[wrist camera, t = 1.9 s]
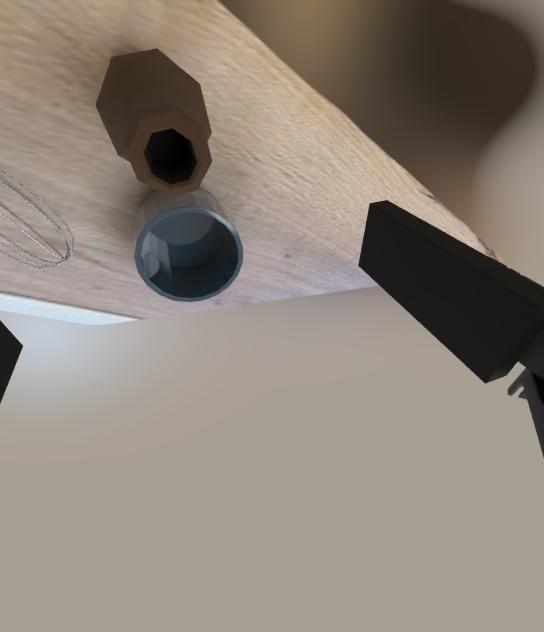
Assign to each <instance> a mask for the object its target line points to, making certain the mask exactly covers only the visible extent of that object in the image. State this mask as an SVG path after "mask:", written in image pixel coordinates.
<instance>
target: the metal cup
mask: <svg viewBox="0 0 544 632" xmlns="http://www.w3.org/2000/svg"><path fill="white" fill-rule="evenodd" d="M134 258H135V262H136V266H137V271H138V273H139V274H140V276H141V277H142V279H143V280H144V282H145V283H146V285H147V286H149V287H150V288H151V289H153V290H154V291H155V292H156V293H158V294H159V295H161V296H164V297H166V298H169V299H171V300H176V301H184V302H194V301H201V300H206V299H208V298H211V297H213V296H216V295H218V294H219V293H221V292H222V291H223V290H225V289H226V288H227V287H229V286H230V285H231V283H232V282H233V281H234V279H235V278H236V277H237V276H238V273H239V271H240V268H241V265H242V263H243V246H242V243H241V240H240V237H239V234H238V232H237V230H236V229H235V227H234V225H233V224H232V222H231V220H230V218H229V217H228V215H227V213H226V212H225V210H224V209H223V207H222V206H221V204H220V203H219V202H218V200H217V199H216V198H215V197H214V196H212V195H211V194H210V193H209V192H207V191H205V190H204V189H202V188H199V187H198V189H197V190H196V191H192V192H188V193H184V194H181V195H177V196H173V197H169V196H167V195H165V194H163V193H161V192H159V191H158V190H155V191H153V192H152V193H150V194H149V195H148V196H147V197H146V198H145V199H144V200H143V202H142V203H141V205H140V207H139V209H138V211H137V214H136V220H135V232H134Z"/></svg>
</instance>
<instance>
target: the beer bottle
mask: <svg viewBox="0 0 544 632" xmlns="http://www.w3.org/2000/svg"><path fill="white" fill-rule="evenodd" d="M96 108H97V110H98V112H99V114H100V116H101V119H102V121H103V123H104V125H105V127H106V130H107V132H108V134H109V136H110V138H111V141H112V143H113V145H114V147H115V149H116V151H117V154H118V155H119V156H121V157H122V158H124V159H126V160H128V161H130V163H131V165H132V167H133V170H134V172H135V174H136V177H137V179H138V180H139V181H141V182H143V183H144V184H146V185H148V186H150V187H152V188H154V189H156V190H158V191H159V192H161V193H163V194H165V195H167V196H169V197H173V196H177V195H181V194H184V193H188V192H192V191H196V190H197V189H198V187H199V186H200V184H201V182H202V180H203V178H204V176H205V174H206V172H207V170H208V168H209V166H210V164H211V162H212V159H211V155H210V151H209V147H208V143H207V141H208V139H209V137H210V135H211V133H212V132H211V128H210V124H209V120H208V116H207V112H206V108H205V103H204V99H203V95H202V91H201V87H200V84H199V83H198V82H197V81H196V80H195V79H193V78H192V77H191V76H190V75H189V74H187V73H186V72H185V71H184V70H182V69H181V68H180V67H179V66H178V65H176V64H175V63H174V62H173V61H172V60H170V59H169V58H168V57H167V56H165V55H164V54H163V53H162V52H161V51H159V50H158V49H152V50H147V51H141V52H136V53H131V54H126V55H120V56H115V57H112V58H111V61H110V64H109V67H108V70H107V73H106V76H105V79H104V82H103V85H102V88H101V91H100V94H99V97H98V100H97V103H96Z"/></svg>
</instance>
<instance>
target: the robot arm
mask: <svg viewBox="0 0 544 632" xmlns="http://www.w3.org/2000/svg"><path fill="white" fill-rule="evenodd" d="M358 266H359V267H360V268H361V269H362V270H363V271H365V272H366V273H367V274H368V275H369V276H370V277H371V278H372V279H373V280H374V281H375V282H376V283H378V284H379V285H380V286H381V287H382V288H383V289H384V290H385V291H386V292H387V293H388V294H389V295H391V296H392V297H393V298H394V299H395V300H396V301H397V302H398V303H399V304H400V305H401V306H402V307H404V308H405V309H406V310H407V311H408V312H409V313H410V314H411V315H412V316H413V317H414V318H415V319H416V320H417V321H418V322H420V323H421V324H422V325H423V326H424V327H425V328H426V329H427V330H428V331H429V332H431V334H432V335H434V336H435V337H436V338H437V339H438V340H439V341H440V342H441V343H442V344H443V345H445V347H447V348H448V349H449V350H450V351H451V352H452V353H453V354H454V355H455V356H456V357H457V358H458V359H460V360H461V361H462V362H463V363H464V364H465V365H466V366H467V367H468V368H469V369H470V370H471V371H472V372H473V373H475V374H476V375H477V376H478V377H479V378H480V379H481V380H482V381H483V382H484V383H488V382H490V381H493V380H496V379H498V378H501V377H504V376H506V375H507V374H508V373H509V372H510V370H511V369H512V368H513V367H514V365H515V364H516V363H517V362H520V363H521V364H522V365H524V366H525V367H526V368H525V370H524V371H523V372H522V373H521V374H520V375H519V377H518V378H517V379H516V380H515V381H514V382H513V384H512V385H511V386H510V387H509V388H508V395H511V396H512V395H513V394H514V393H515V392H516V391H517V390H518V389H519V388H520V387H524V390H523V391H522V392H521V393H520V395H519V398H523V399H527V400H528V404H529V408H530V411H531V414H532V418H533V422H534V425H535V429H536V432H537V435H538V439H539V443H540V446H541V449H542V453H543V457H544V287H543V286H541V285H540V284H538V283H536V282H534V281H532V280H531V279H529V278H527V277H525V276H522V275H520V273H518V272H516V271H514V270H513V269H511V268H510V269H509V268H507V266H505V265H504V264H502V263H500V262H498V261H497V260H495V259H493V258H491V257H488V256H486V255H484V254H482V253H481V252H479V251H477V250H475V249H473V248H472V247H470V246H468V245H466V244H464V243H463V242H461V241H459V240H457V239H456V238H454V237H452V236H450V235H448V234H447V233H445V232H443V231H441V230H439V229H438V228H436V227H434V226H432V225H431V224H429V223H427V222H425V221H423V220H422V219H420V218H418V217H416V216H414V215H413V214H411V213H409V212H407V211H405V210H404V209H402V208H400V207H398V206H397V205H395V204H393V203H391V202H389V201H388V200H385V201H380V202H375V203H370V205H369V210H368V216H367V221H366V227H365V232H364V238H363V243H362V249H361V254H360V260H359V265H358ZM22 348H23V345H22V344H21V343H20V342H19V341H18V340H17V339H16V338H15V336H14V335H13V334H12V333H11V332H10V331H9V330H8V329H7V328H6V326H5V325H4V324H3V323H2V322H1V321H0V403H1V400H2V398H3V395H4V393H5V390H6V388H7V385H8V383H9V380H10V378H11V375H12V373H13V370H14V367H15V365H16V362H17V360H18V357H19V355H20V353H21V350H22Z"/></svg>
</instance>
